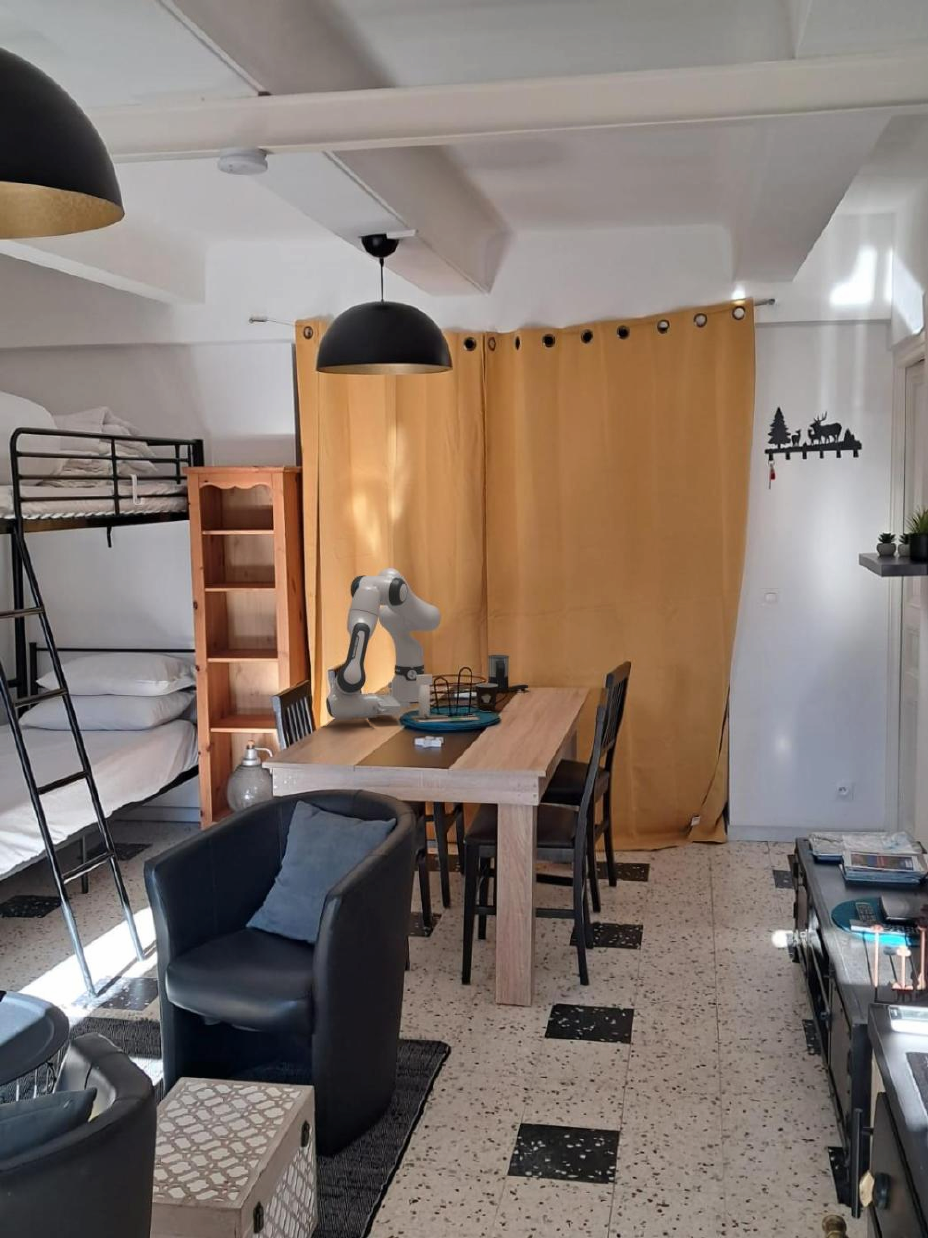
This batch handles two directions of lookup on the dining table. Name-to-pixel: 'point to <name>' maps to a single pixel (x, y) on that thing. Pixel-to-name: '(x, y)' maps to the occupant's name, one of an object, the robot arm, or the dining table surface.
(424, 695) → the peg
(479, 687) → the coffee mug
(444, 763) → the dining table surface
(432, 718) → the tuner board
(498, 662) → the milk frother
